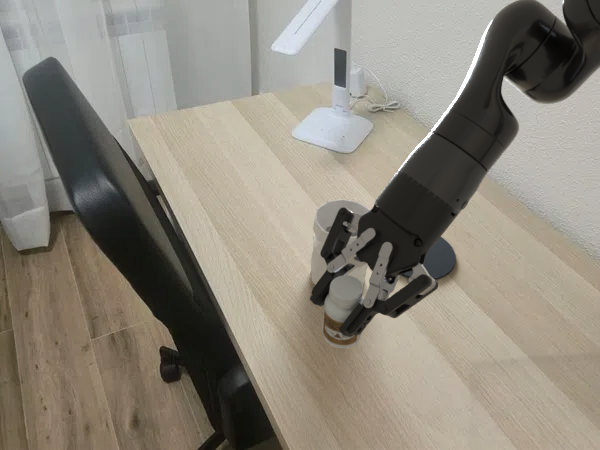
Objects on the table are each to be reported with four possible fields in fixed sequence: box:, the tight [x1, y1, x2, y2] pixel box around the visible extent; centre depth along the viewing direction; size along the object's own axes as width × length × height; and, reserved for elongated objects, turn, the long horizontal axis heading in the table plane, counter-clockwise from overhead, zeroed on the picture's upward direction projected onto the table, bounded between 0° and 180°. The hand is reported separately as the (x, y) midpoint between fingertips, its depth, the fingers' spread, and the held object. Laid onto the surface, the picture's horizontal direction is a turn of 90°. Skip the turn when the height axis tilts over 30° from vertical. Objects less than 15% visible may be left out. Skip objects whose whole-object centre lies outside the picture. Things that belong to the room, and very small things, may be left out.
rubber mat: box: [400, 236, 457, 281], centre depth 91 cm, size 12×12×1 cm
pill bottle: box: [321, 275, 364, 349], centre depth 60 cm, size 4×4×8 cm
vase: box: [310, 198, 371, 287], centre depth 82 cm, size 9×9×12 cm
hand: (330, 317), depth 58 cm, fingers closed on pill bottle, 4 cm apart
